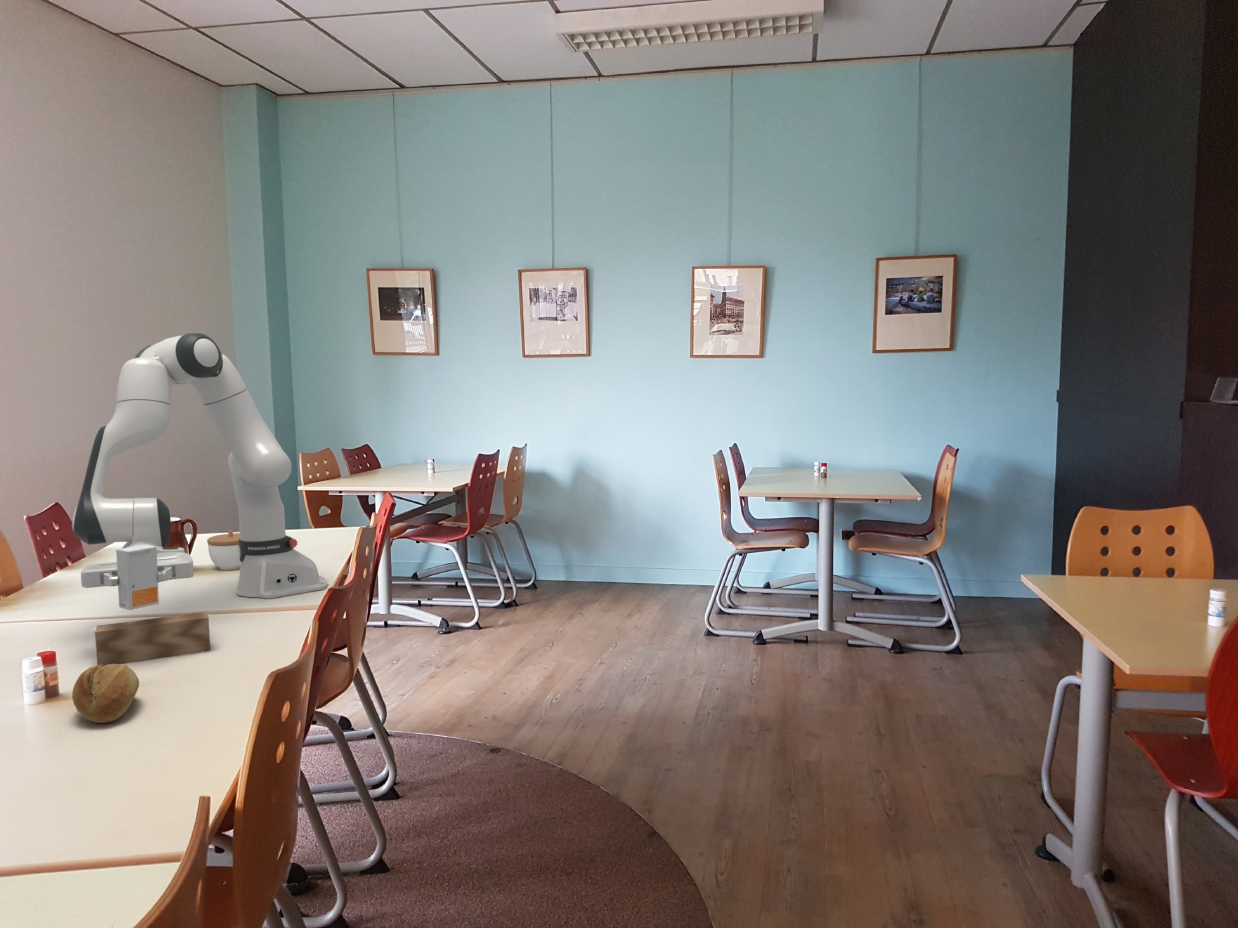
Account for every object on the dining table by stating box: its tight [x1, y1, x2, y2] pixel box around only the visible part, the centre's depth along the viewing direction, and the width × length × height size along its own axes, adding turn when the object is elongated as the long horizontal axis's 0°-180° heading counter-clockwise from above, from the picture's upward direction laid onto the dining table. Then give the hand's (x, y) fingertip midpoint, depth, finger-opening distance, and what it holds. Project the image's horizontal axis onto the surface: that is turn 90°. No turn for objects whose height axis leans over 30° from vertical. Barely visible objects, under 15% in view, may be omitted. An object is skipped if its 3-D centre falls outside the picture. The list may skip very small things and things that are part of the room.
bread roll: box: [71, 663, 140, 724], centre depth 143 cm, size 10×15×8 cm, turn 27°
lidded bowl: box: [206, 530, 241, 571], centre depth 249 cm, size 13×13×11 cm
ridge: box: [94, 611, 211, 666], centre depth 171 cm, size 20×5×7 cm, turn 118°
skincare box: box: [115, 545, 160, 611], centre depth 169 cm, size 6×4×12 cm
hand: (137, 579), depth 168 cm, fingers closed on skincare box, 7 cm apart
